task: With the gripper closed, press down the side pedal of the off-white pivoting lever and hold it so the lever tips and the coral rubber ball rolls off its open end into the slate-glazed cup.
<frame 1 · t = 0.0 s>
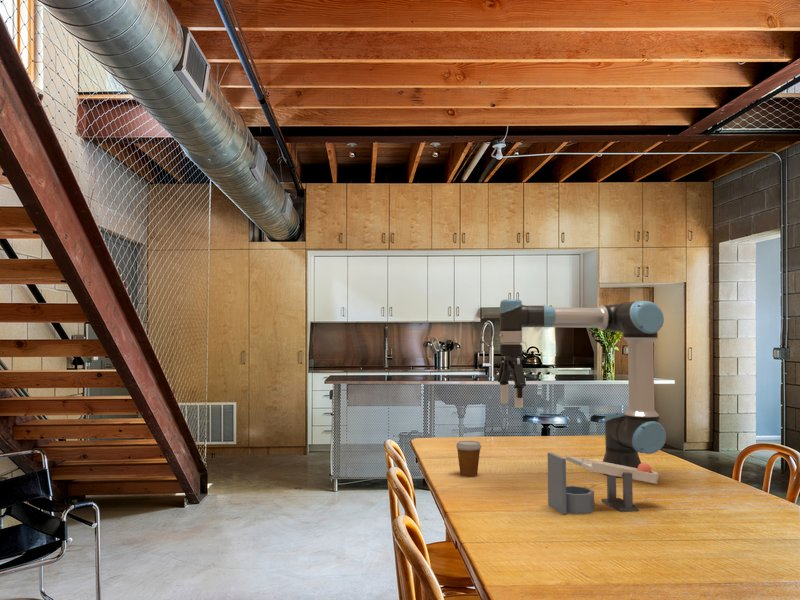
hand: (511, 405, 214), 28 cm above the table, fingers open, 13 cm apart
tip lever: (610, 467, 196), point 11 cm above the table, hinge at -12.0°, touching rubber ball
trough stand: (619, 506, 190), on the table
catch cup: (574, 508, 187), on the table
disposable coffee cup: (468, 475, 232), on the table
rubber ball: (644, 469, 192), point 11 cm above the table, tilted 20°, touching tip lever
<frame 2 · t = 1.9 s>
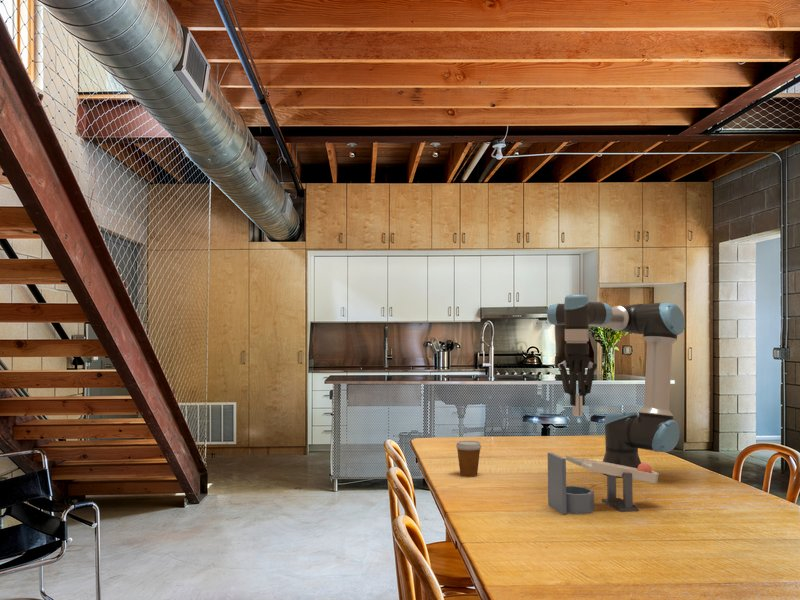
hand: (577, 415, 200), 26 cm above the table, fingers closed
nothing on the table moved.
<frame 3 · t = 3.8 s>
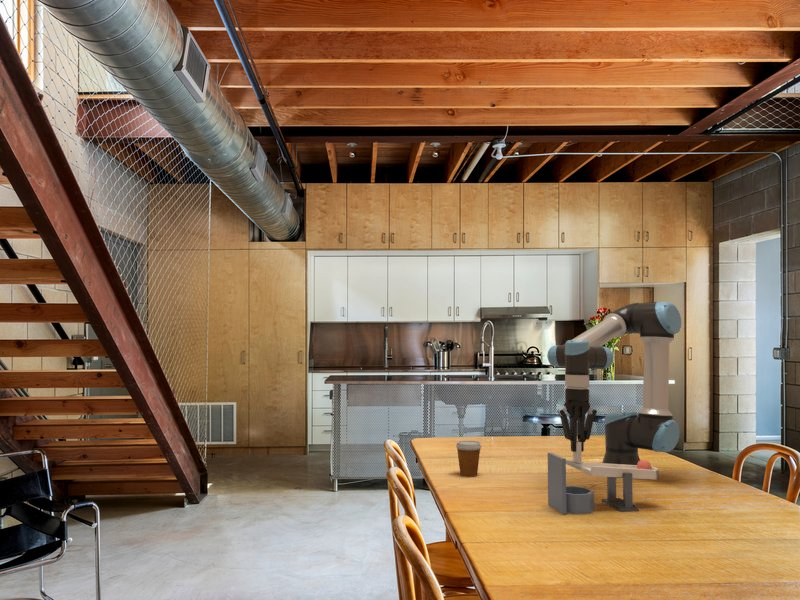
hand: (577, 461, 199), 12 cm above the table, fingers closed
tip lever: (610, 467, 196), point 11 cm above the table, hinge at -5.3°, touching gripper, rubber ball
rubber ball: (643, 466, 193), point 12 cm above the table, tilted 13°, touching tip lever
everything else where it was.
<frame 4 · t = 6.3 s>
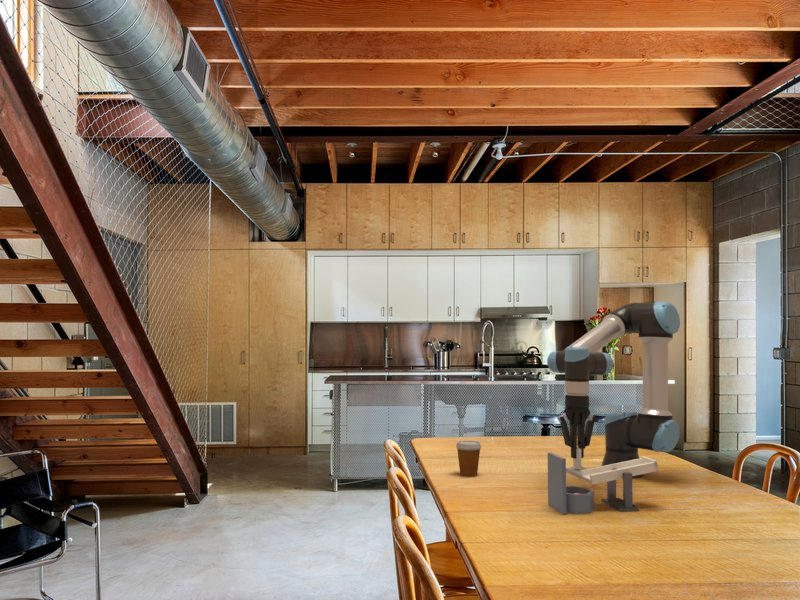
hand: (577, 468, 199), 10 cm above the table, fingers closed
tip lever: (610, 467, 196), point 11 cm above the table, hinge at 8.4°, touching gripper
rubber ball: (576, 499, 188), point 3 cm above the table, tilted 118°, touching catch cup
everything else where it was.
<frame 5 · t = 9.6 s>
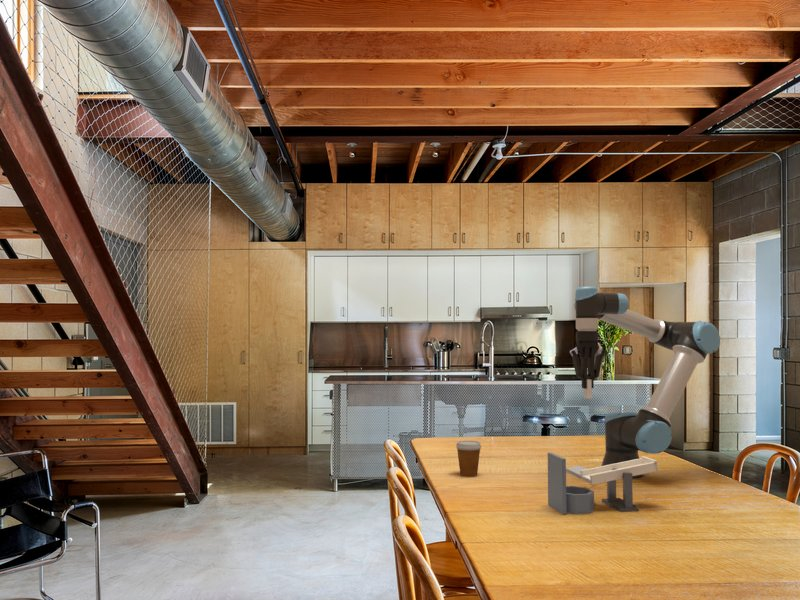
hand: (587, 397, 217), 30 cm above the table, fingers closed
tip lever: (610, 467, 196), point 11 cm above the table, hinge at 8.4°
rubber ball: (567, 500, 187), point 3 cm above the table, tilted 26°, touching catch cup
everything else where it was.
at the end: rubber ball inside the target area on the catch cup (2.3 cm from its centre), point 2.6 cm above the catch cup's base; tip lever at +8° (first picture: -12°) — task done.
